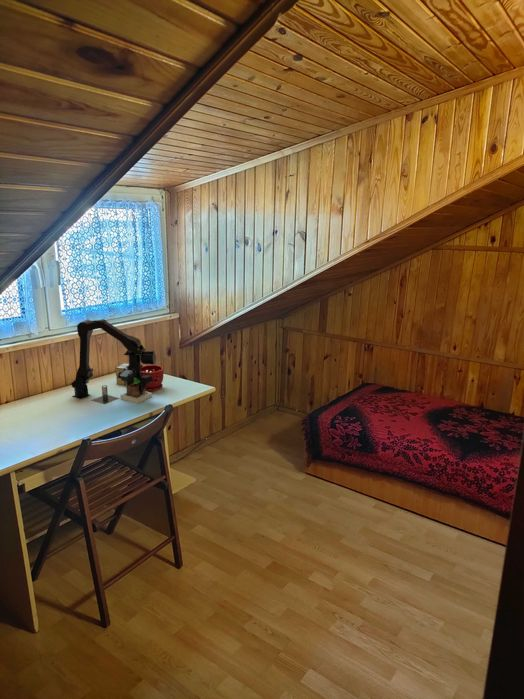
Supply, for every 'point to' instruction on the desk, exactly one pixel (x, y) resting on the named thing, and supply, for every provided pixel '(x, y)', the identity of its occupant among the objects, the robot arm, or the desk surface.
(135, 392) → the wooden shaft bracket
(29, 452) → the desk surface
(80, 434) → the desk surface
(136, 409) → the desk surface
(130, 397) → the tray
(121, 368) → the puzzle cube
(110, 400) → the grey post on plate
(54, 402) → the desk surface
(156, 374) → the plant pot
